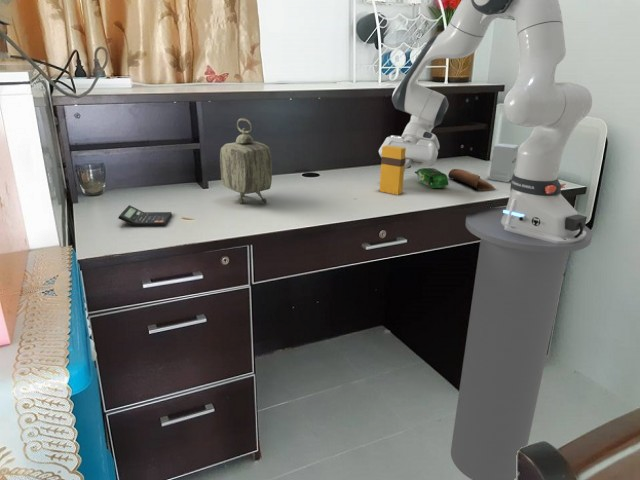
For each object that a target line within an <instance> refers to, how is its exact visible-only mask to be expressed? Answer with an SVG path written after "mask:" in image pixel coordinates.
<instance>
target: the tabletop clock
mask: <svg viewBox="0 0 640 480" xmlns="http://www.w3.org/2000/svg"><path fill="white" fill-rule="evenodd" d="M241 121H242V122H243V121H244V122H247V123H248V125H249V128H250V129H249V130H247V128H246V127H243V128H242V129H241V128H240V126H239V124H240V122H241ZM236 128H237V130H238V131H239V132H240V133H241V134H239V135H238V136H237V137H236V139H235V142H229V143H225V144H224V145H223V146H222V147H221V148H220V150H219V169H220V179H221V184H222V185H223V186H224V187H225V188H226V189H229V190H232V191H234V192H237V193H238V194H239V196H240V197H239V198H238V199H237V201H238V203H240V204H243V203H244V201H245V200H244V198H243V197H245V195H250V194H254V193H255V194H257V195H258V196H259V198H260V199H261V203H262V204H266V203H267V198H265V197H263V195H262V193H261V192H263V191H268V190H270V189H271V187H272V181H273V161H272V154H271V150H270V147H269V146H268V145H266V144H264V143H262V142H259V141H254V138H253V137H252V135H250V133H251V132H252V130H253V125H252V122H251V121H250V120H249V119H247V118H245V117H240V118H239V119H237V121H236Z"/></svg>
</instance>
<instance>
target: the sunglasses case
mask: <svg viewBox="0 0 640 480" xmlns="http://www.w3.org/2000/svg"><path fill="white" fill-rule="evenodd" d="M447 174H448V175H447V178H449V179H452V180H458V181H459V182H461V183H465V184H466V185H468V186H471V187H473V188H474V189H476V190H477V192H481V191H482V192H487V191H493V190H496V188H495V186H493V185H492V184H491V183H490V182H488V181H486V180H485V179H482V178H481V176H480V175H478V174H475V173H473V172H470V171H468V170H464V169H460V168H453V169H450V171H449V172H448V173H447Z"/></svg>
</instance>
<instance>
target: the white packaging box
mask: <svg viewBox="0 0 640 480" xmlns="http://www.w3.org/2000/svg"><path fill="white" fill-rule="evenodd" d="M519 147H520V145H519V144H513V143H512V144H511V143H497V144H494V146H493V150H492V156H491V164H490V169H489V177H488V180H491V181H497V182H504V183H510V182H511V180H512V175H513V174H514V172H515V166H516V160H517V153H518V149H519Z"/></svg>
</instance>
